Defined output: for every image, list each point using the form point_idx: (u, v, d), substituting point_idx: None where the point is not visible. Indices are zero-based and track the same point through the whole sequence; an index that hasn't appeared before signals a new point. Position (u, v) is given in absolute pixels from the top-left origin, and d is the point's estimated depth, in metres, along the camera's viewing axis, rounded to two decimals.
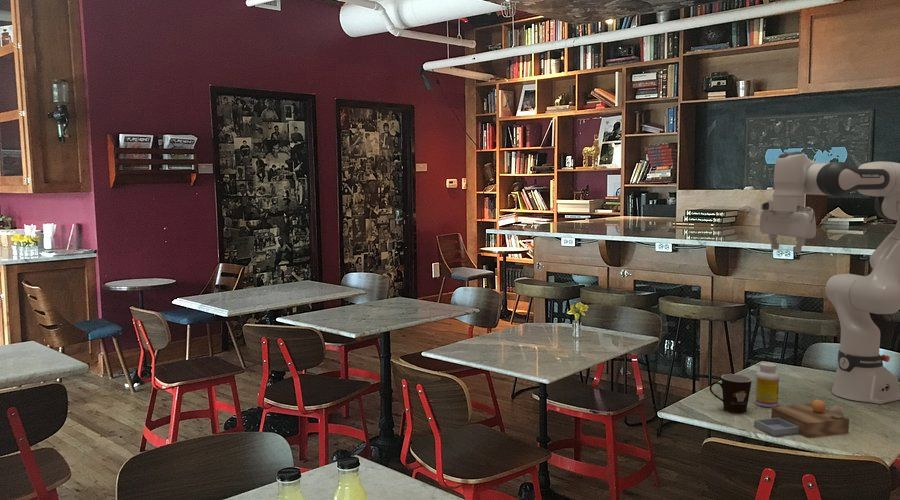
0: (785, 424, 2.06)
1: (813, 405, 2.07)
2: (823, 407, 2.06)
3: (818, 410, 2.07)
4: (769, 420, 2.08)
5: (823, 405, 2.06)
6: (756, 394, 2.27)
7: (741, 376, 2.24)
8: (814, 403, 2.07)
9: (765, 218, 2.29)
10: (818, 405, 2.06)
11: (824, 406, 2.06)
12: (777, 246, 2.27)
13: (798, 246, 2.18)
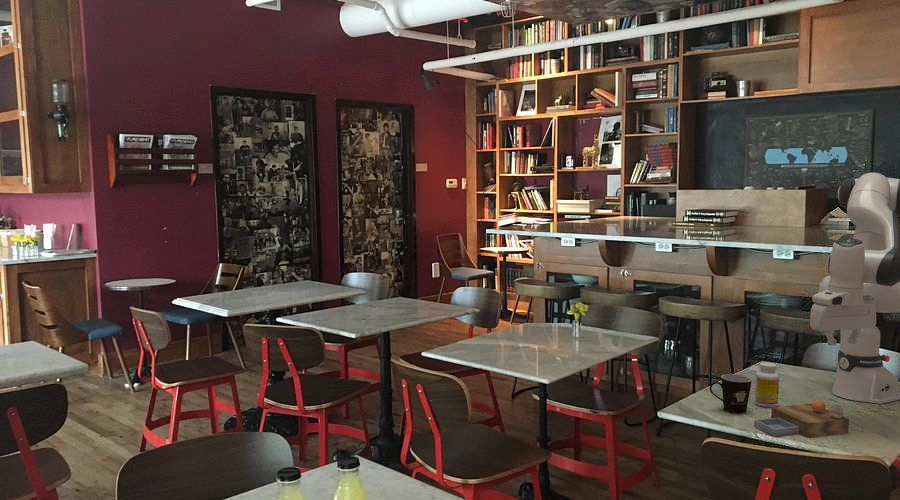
0: (785, 424, 2.06)
1: (813, 405, 2.07)
2: (823, 407, 2.06)
3: (818, 410, 2.07)
4: (769, 420, 2.08)
5: (823, 405, 2.06)
6: (756, 394, 2.27)
7: (741, 376, 2.24)
8: (814, 403, 2.07)
9: (827, 314, 2.03)
10: (818, 405, 2.06)
11: (824, 406, 2.06)
12: None
13: None
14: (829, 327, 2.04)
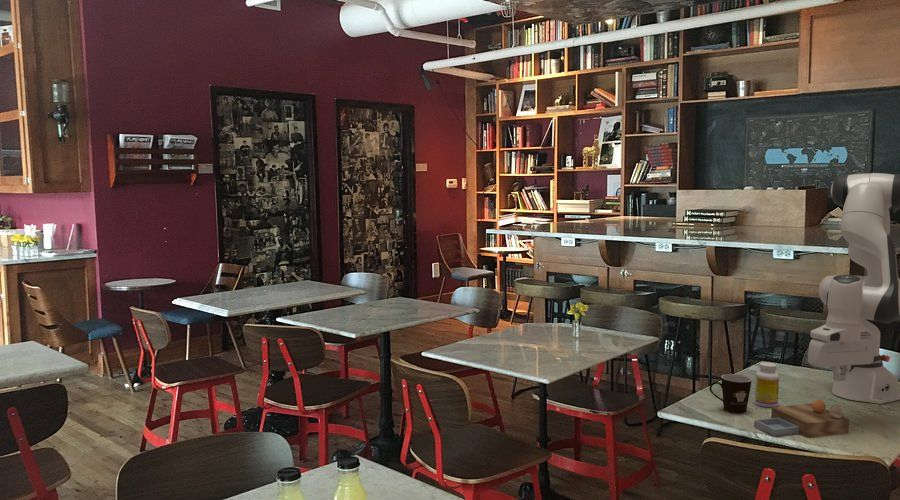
0: (785, 424, 2.06)
1: (813, 405, 2.07)
2: (823, 407, 2.06)
3: (818, 410, 2.07)
4: (769, 420, 2.08)
5: (823, 405, 2.06)
6: (756, 394, 2.27)
7: (741, 376, 2.24)
8: (814, 403, 2.07)
9: (825, 350, 2.04)
10: (818, 405, 2.06)
11: (824, 406, 2.06)
12: None
13: None
14: (827, 363, 2.05)
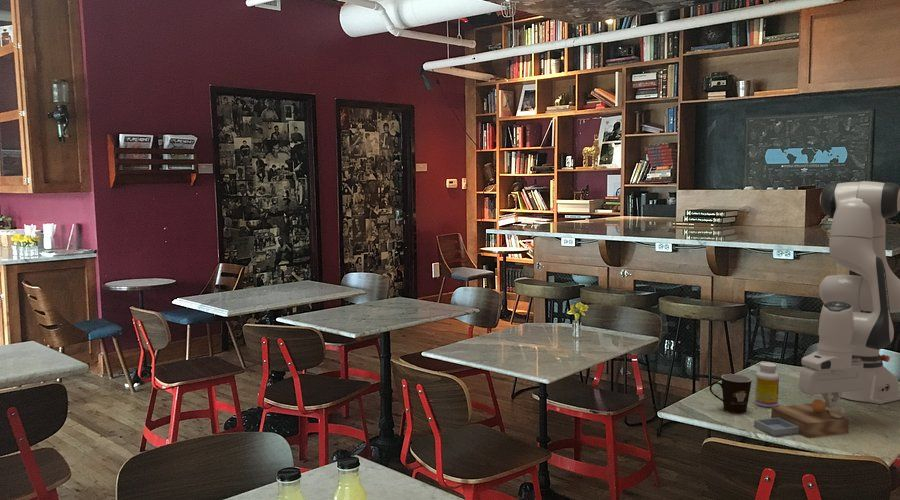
0: (785, 424, 2.06)
1: (813, 405, 2.07)
2: (823, 407, 2.06)
3: (818, 410, 2.07)
4: (769, 420, 2.08)
5: (823, 405, 2.06)
6: (756, 394, 2.27)
7: (741, 376, 2.24)
8: (814, 403, 2.07)
9: (816, 378, 2.04)
10: (818, 405, 2.06)
11: (824, 406, 2.06)
12: None
13: None
14: (818, 391, 2.05)
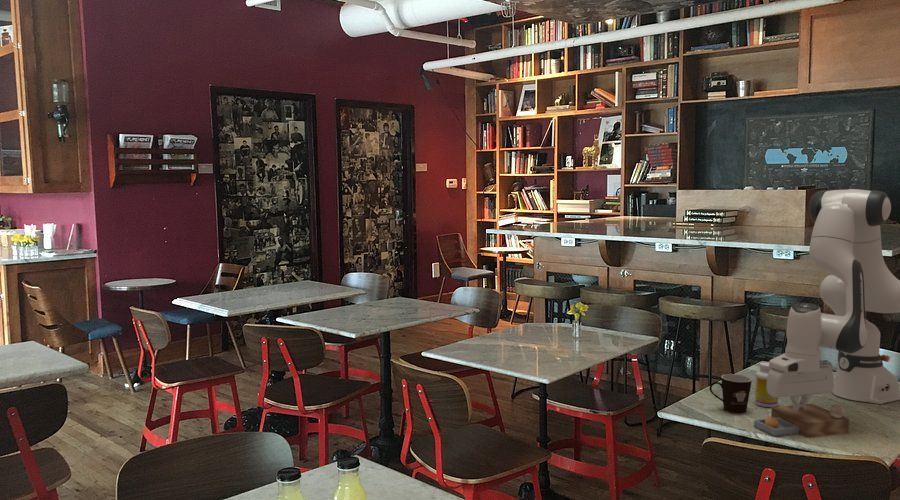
0: (785, 424, 2.06)
1: None
2: (776, 426, 2.02)
3: None
4: None
5: (775, 427, 2.02)
6: (756, 394, 2.27)
7: (741, 376, 2.24)
8: None
9: (783, 380, 2.01)
10: None
11: (774, 426, 2.02)
12: None
13: None
14: (785, 393, 2.02)
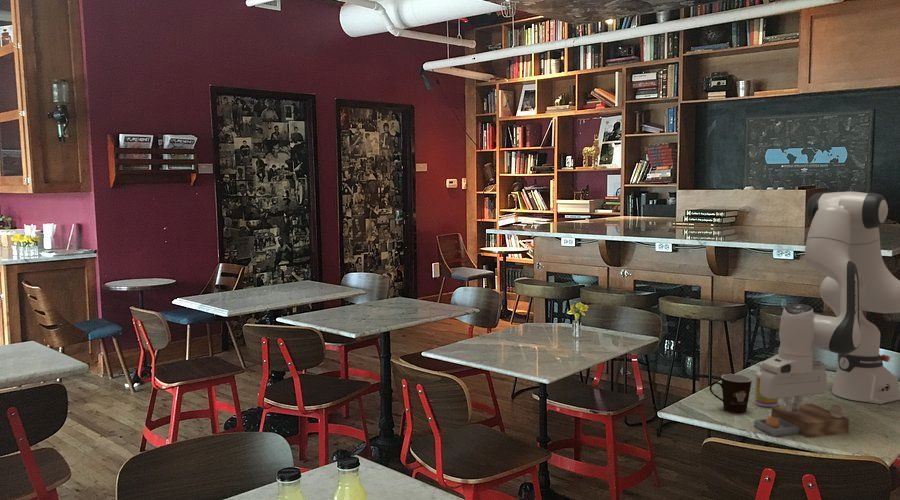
0: (785, 424, 2.06)
1: None
2: (777, 426, 2.02)
3: (779, 422, 2.03)
4: None
5: (775, 427, 2.02)
6: (756, 394, 2.27)
7: (741, 376, 2.24)
8: None
9: (776, 382, 2.01)
10: (778, 427, 2.03)
11: (775, 426, 2.02)
12: None
13: None
14: (778, 395, 2.01)
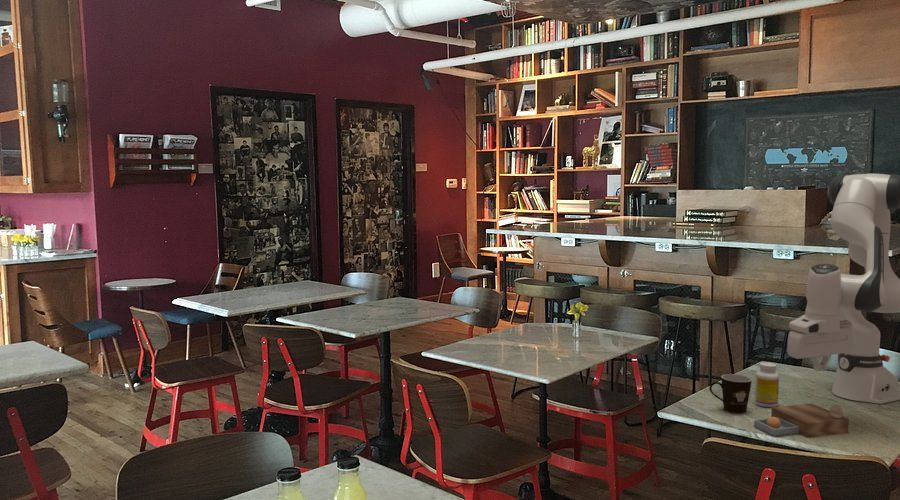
0: (785, 424, 2.06)
1: None
2: (778, 426, 2.02)
3: (780, 423, 2.03)
4: None
5: (776, 427, 2.02)
6: (756, 394, 2.27)
7: (741, 376, 2.24)
8: None
9: (804, 341, 2.02)
10: None
11: (776, 425, 2.02)
12: None
13: None
14: (806, 354, 2.03)
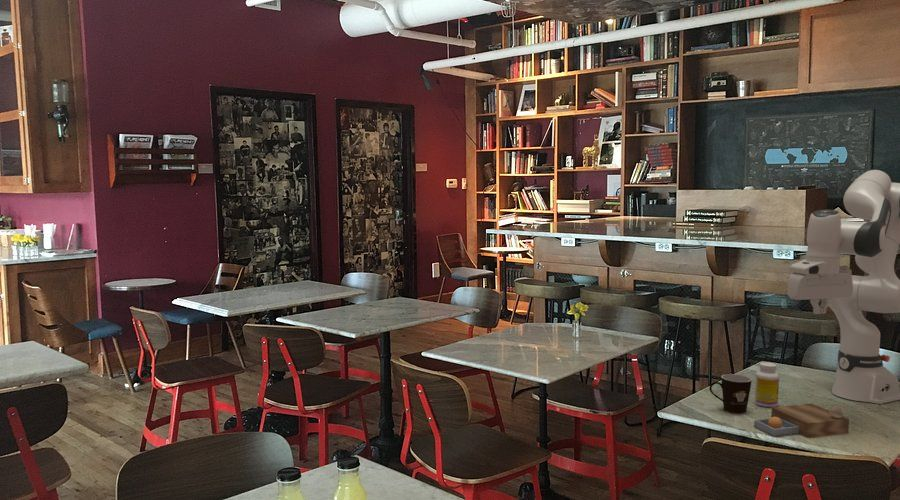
0: (785, 424, 2.06)
1: None
2: (779, 426, 2.02)
3: None
4: None
5: (777, 427, 2.02)
6: (756, 394, 2.27)
7: (741, 376, 2.24)
8: None
9: (804, 283, 2.07)
10: None
11: (777, 425, 2.02)
12: None
13: None
14: (806, 296, 2.08)
